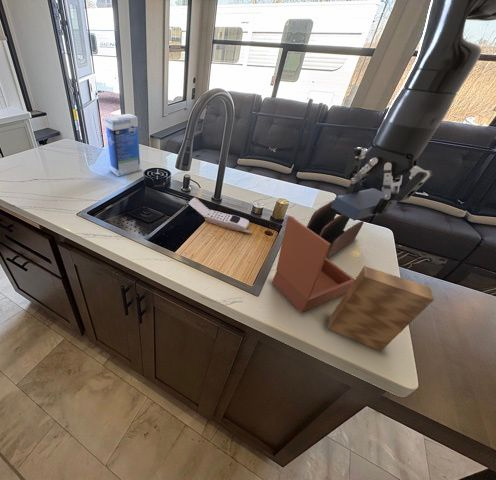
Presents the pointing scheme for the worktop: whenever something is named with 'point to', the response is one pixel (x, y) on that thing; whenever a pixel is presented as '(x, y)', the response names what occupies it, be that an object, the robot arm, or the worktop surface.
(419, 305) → the wooden block
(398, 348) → the worktop surface
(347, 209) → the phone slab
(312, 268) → the cover
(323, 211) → the letter holder
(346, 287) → the case
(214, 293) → the worktop surface
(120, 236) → the worktop surface
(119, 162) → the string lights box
